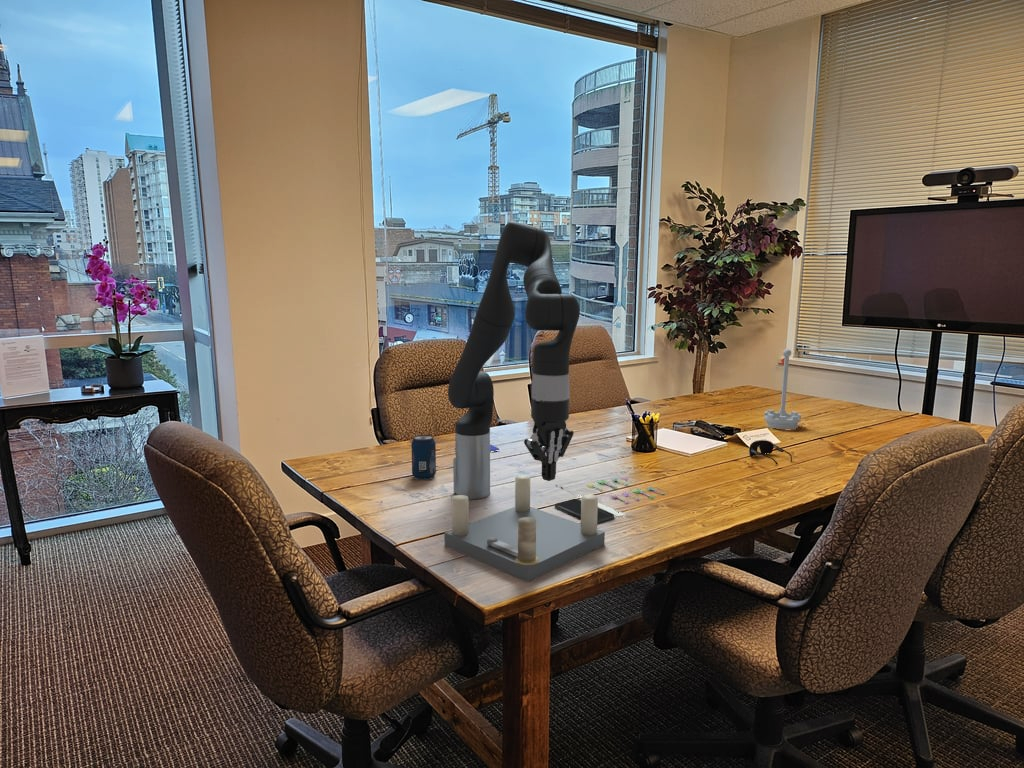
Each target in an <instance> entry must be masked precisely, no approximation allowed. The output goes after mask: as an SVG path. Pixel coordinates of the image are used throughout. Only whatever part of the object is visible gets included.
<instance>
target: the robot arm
mask: <svg viewBox="0 0 1024 768" xmlns="http://www.w3.org/2000/svg"><path fill="white" fill-rule="evenodd" d="M504 225H505V226H504V228H503V229H502V232H501V234H500V236H499V241H498V244H497V248H496V250H495V254H494V258H493V262H492V267H491V269H490V274H489V277H488V280H487V282H486V283H487V284H486V285H485V289H484V291H483V295H482V297H481V300H480V302H479V305H478V307H477V310H476V312H475V316H474V318H473V322H472V326H471V328H470V332H469V335H468V338H467V340H466V342H465V346H464V348H463V351H462V354H461V355H460V358H459V360H458V362H457V364H456V366H455V368H454V370H453V373H452V374H451V377H450V379H449V383H448V388H447V396H448V401H449V403H450V404H451V405H452V407H454V408H456V409H468V410H467V412H466V413H465V414H464V415H463V416H461V417H460V418H458V419H457V420H456V421H455V425H454V432H455V436H454V437H455V438H454V439H455V440H454V441H455V448H456V451H455V457H454V458H453V460H452V461H453V462H452V465H453V492H454V493H455V494H456V495H465V496H468V500H469V499H470V500H476V499H477V500H478V499H482V498H483V497H484V498H486V497H488V496H490V495H491V453H490V445H491V426H492V422H493V415H494V397H495V396H494V392H495V391H494V383H493V380H492V378H491V376H490V374H489V373H488V372H486V371H484V370H482V368H483V367H484V365H486V363H487V362H488V361H489V360H490V359H491V358H492V357H493V356H494V355H495V353H497V352H498V351H499V350H500V348H501V347H502V346H503V345H504V343H505V342H506V340H507V338H508V336H509V334H510V332H511V331H510V330H511V328H512V326H513V323H514V320H515V317H516V315H515V314H516V313H515V306H514V302H513V298H512V295H511V292H510V289H509V283H508V278H507V277H508V276H507V275H508V269H509V266H510V263H511V264H515V265H519V266H524V267H527V268H526V270H525V271H524V274H523V281H522V282H523V287H524V290H525V293H526V297H527V300H526V305H525V310H524V317H525V318H524V319H525V322H526V324H527V325H528V327H529V328H531V329H532V330H534V331H539V332H540V331H541V332H542V331H551V332H552V331H558V333H557V334H556V336H555V338H553V339H550V340H549V341H543V342H540V343H537V344H536V345H534V348H533V357H532V358H533V362H532V379H531V393H530V394H531V395H530V396H531V398H530V399H531V400H530V401H531V403H530V404H531V405H530V408H531V409H530V417H531V419H532V420H533V422H534V423H533V427H532V435H531V436H530V437H529V438H525V439H524V441H523V443H524V445H525V447H526V449H527V450H528V451H529V453H530V455H531V456H532V458H533V460H534V461H538V462H541V477H542V478H541V479H543V480H544V481H547V482H550V481H555V479H556V475H557V462H558V461H559V458H563V457H564V456H565V453H566V451H567V449H568V447H569V445H570V443H571V441H572V439H573V436H574V431H573V430H571V429H570V430H569V429H568V428H567V423H566V421H567V420H568V419H569V418H570V393H571V392H570V386H571V385H570V374H569V373H570V371H569V370H570V352H571V346H572V342H573V338H574V334H575V331H576V329H577V326H578V323H579V320H580V319H579V318H580V313H581V307H580V303H579V302H578V299H577V298H576V297H575V295H573V294H569V293H563V292H562V286H561V285H560V281H559V279H558V277H557V275H556V273H555V269H554V261H553V260H554V259H553V253H552V245H551V239H550V236H549V234H548V232H547V231H545V230H544V229H542V228H540V227H537V226H533V225H530V224H526V223H523V222H519V221H515V220H514V221H513V220H509V221H508V222H507V223H506V224H504ZM456 495H455V496H456Z"/></svg>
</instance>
